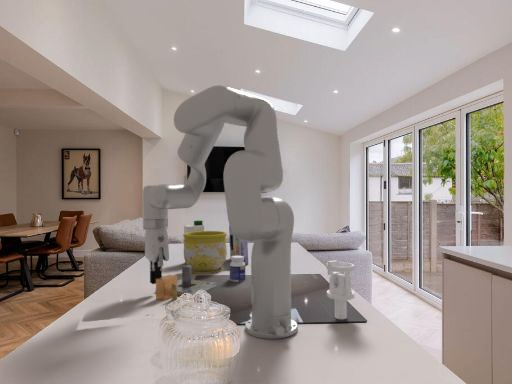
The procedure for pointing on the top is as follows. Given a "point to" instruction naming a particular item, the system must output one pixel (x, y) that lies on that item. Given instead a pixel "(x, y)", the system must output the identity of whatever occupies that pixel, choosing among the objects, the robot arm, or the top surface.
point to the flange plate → (178, 286)
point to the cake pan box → (238, 247)
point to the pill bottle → (237, 269)
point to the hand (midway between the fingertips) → (155, 282)
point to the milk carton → (194, 227)
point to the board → (183, 280)
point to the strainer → (340, 286)
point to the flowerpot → (205, 251)
